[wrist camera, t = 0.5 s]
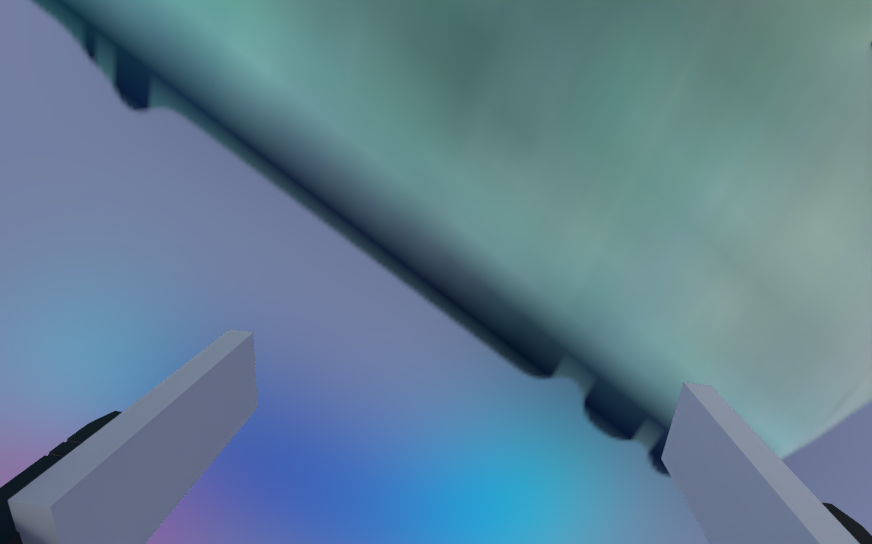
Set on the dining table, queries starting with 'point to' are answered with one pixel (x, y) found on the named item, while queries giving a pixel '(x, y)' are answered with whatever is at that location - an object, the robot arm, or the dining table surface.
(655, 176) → the dining table surface
